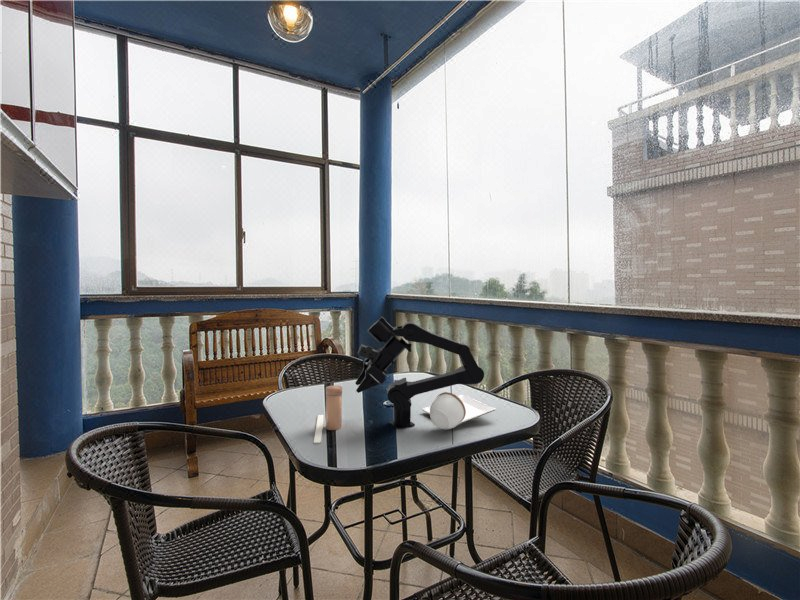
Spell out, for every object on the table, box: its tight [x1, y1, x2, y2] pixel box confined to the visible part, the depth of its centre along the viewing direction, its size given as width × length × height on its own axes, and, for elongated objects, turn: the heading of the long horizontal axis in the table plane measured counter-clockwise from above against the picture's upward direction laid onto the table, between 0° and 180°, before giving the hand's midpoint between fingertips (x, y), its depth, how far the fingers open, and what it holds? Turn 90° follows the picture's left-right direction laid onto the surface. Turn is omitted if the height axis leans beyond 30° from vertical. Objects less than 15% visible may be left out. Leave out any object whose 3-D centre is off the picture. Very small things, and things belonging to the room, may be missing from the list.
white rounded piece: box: [429, 391, 466, 430], centre depth 124 cm, size 11×11×9 cm
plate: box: [421, 393, 496, 426], centre depth 138 cm, size 19×19×2 cm
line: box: [313, 414, 325, 445], centre depth 126 cm, size 24×2×1 cm, turn 9°
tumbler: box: [325, 384, 343, 431], centre depth 127 cm, size 5×5×13 cm
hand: (356, 387), depth 128 cm, fingers open, 9 cm apart
